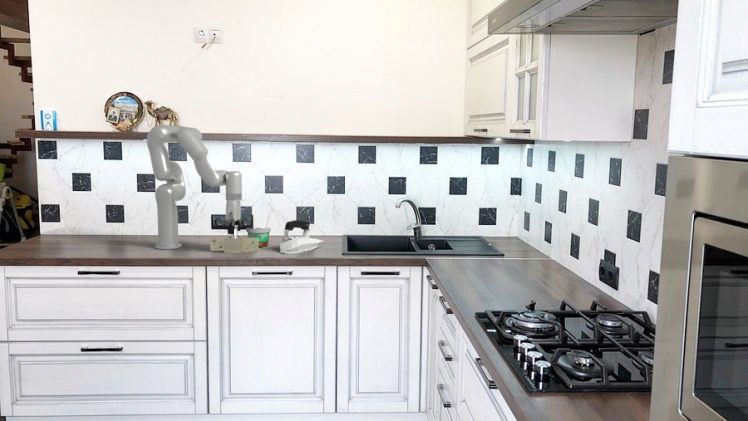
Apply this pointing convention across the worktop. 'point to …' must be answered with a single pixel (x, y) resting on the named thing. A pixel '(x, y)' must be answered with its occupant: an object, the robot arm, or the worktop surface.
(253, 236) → the food container
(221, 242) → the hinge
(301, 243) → the iron
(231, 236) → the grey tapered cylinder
